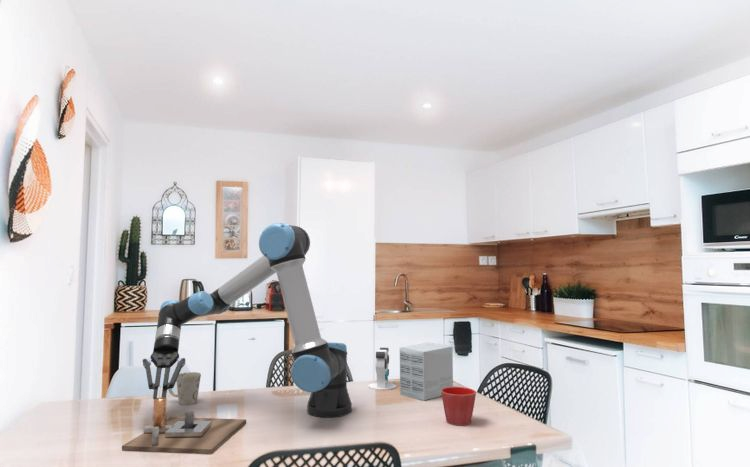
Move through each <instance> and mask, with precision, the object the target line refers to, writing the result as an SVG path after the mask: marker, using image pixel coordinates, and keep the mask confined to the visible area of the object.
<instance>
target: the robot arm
mask: <svg viewBox="0 0 750 467" xmlns="http://www.w3.org/2000/svg"><path fill="white" fill-rule="evenodd" d="M262 230H263V229H262ZM258 248H259V251H260V253H261V254H262V256H260V257H259V258H258V259H256V260H255V261H254V262H252V263H251V264H249V266H247V267H245V268H244V269H243V270H241V271H240V272H239V273H238V274H236V275H235V276H234V277H233V276H232V278H230V279H229V280H228V281H226V282H225V283H224V284H223V285H221V286H219V287H218V288H217V289H216V290H214V291H213V292H211V293H209V292H206V291H204V290H201V291H198V292H196V293H192V295H190V296H188V297H186V298H184V299H182V300H180V301H179V300H176V299H171V300H165V301H164V302H162V303H161V304H160V308H159V312H158V316H157V317H158V320H157V325H156V326H157V327H156V331H155V339H154V343H153V351H152V353H151V354H150V357H148V358H143V359H142V365H143V367H144V368H145V372H146V379H147V380H146V381H147V386H148V389H149V390H153V395H152V399H153V400H154V399H155V398H159V397H166V398H167V393H168V391H169V390H168V389H173V388H174V387H175V385H176V384H177V382H176V380H177V378H178V375H179V374H181V370H182V369H183V367H184V366H185V365H186V358H184V357H180V354H179V348H180V347H179V346H180V341H181V340H180V338H181V330H182V326H183V325H184V324H186V323H188V322H190V321H192V320H194V319H196V318H200V317H201V318H202V317H207V316H212V315H213V316H214V315H220V314H223V313H225V312H228V310H229V308H230V307H231V305H232V304H234V303H235V302H237V301H238V300H240V299H241V298H242V297H244V296H245V295H246V294H248V293H249V292H251V291H252V290H253V289H255V288H256V287H258V286H259V285H261V284H262V283H263V282H265V281H266V280H267V279H269V278H271V277H272V276H273V275H275V274H276V275H277V280H278V284H279V289H280V291H281V295H282V299H283V303H284V304H283V305H284V308H285V311H286V316H287V319H288V324H289V328H290V332H291V335H292V340H293V343H294V346H293V348H292V350H291V355H292V356H291V357H292V359H293V363H292V366H291V368H290V376H291V379H292V382H293V383H294V385H295V386H296V387H297V388H298V389H300V390H301V391H303V392H305V393H310V395H309V398H308V402H307V405H306V412H307V414H309V415H311V416H314V417H318V418H336V417H338V418H339V417H342V416H346V415H348V414H350V413H351V412H352V410H353V407H352V405H353V403H352V400H351V397H350V394H349V391H348V388H347V382H348V381H347V379H348V376H347V373H348V371H347V370H348V366H347V364H348V362H347V360H348V359H347V358H348V350H347V349H348V348H347V345H346V344H345V343H343V342H328V341H327V340H325V339H324V338H322V337H321V336H322V335H321V331H320V329H319V324H318V320H317V316H316V312H315V310H314V306H313V301H312V298H311V293H310V290H309V287H308V282H307V278H306V275H305V271H304V266H303V265H304V263H305V262H306V257H305V256H307V255H306V254H308V251H309V250H310V248H311V239H310V236H309V233H308V232H307V231H306V230H305V229H304V228H302V227H300V226H296V225H291V224H287V223H284V222H279V223H272V224H269V225H268V226H267V227H265V228H264V230H263V231H262V232H261V234H260V235H259V239H258ZM152 363H153V365H154V366H155V367H156V370H155V379H154V382H153V376H152V372H151V365H152ZM175 364H176V365H175ZM174 365H175V369H174V371H173V374H172V375H171V377H170V372H171V368H172V367H173V366H174ZM163 369H164V374H163V382H162V386H160V384H161V378H162V377H161V376H162V370H163ZM169 382H170V383H169Z"/></svg>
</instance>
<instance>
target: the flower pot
mask: <svg viewBox="0 0 750 467" xmlns="http://www.w3.org/2000/svg"><path fill="white" fill-rule="evenodd" d="M441 394H442V396H441V399H442V404H443V410H444V415H445V416H444V417H445V420H446V423H448V424H450V425H455V426H467V425H470V424H471V423H472V418H473V413H474V408H475V403H476V402H475V400H476V395H477V392H476V390H474V389H472V388H468V387H462V386H453V387H447V388H443V389H442V390H441Z"/></svg>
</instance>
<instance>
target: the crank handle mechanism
mask: <svg viewBox="0 0 750 467" xmlns="http://www.w3.org/2000/svg"><path fill="white" fill-rule="evenodd" d="M167 400H168V398H167V396H166V397H159V398H155V399H153V411H152V412H153V413H152V414H153V418H152V419H153V420H152V425H146V426H145V427H143V431H142V432H143V433H152V428H153V427H159V432H165V437H191V436H202V435H203V434H204V433H205V431H206V430H207V429H208V428H209V427H210V426H211V424H212V421H194V429H184V428H185V421H177V422H176V423H175V424H174V425H166V419H167ZM143 433H142V434H143Z"/></svg>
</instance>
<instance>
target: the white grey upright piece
mask: <svg viewBox="0 0 750 467" xmlns="http://www.w3.org/2000/svg"><path fill="white" fill-rule="evenodd" d="M389 350H390V348H389V347H379V349H378V350H376V352H375V373H376V382H372V383H369V384H368V388H369V389H372V390H375V391H376V390H377V391H390V390H394V389H395V388H397V385H396V384H395V383H392V382H389V375H390V369H389V363H390V354H389Z"/></svg>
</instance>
